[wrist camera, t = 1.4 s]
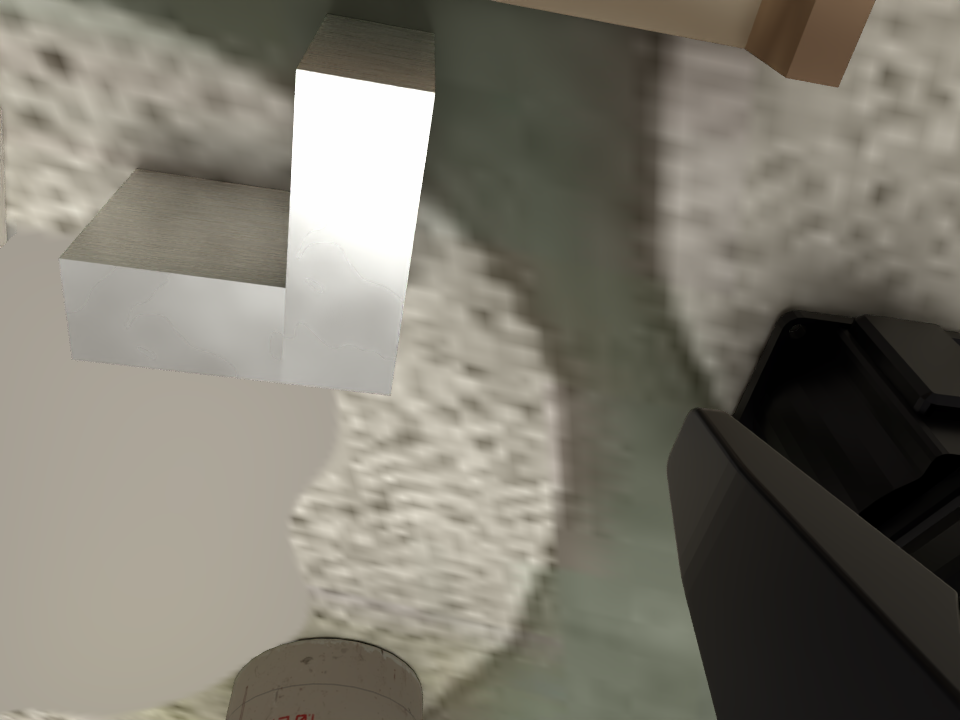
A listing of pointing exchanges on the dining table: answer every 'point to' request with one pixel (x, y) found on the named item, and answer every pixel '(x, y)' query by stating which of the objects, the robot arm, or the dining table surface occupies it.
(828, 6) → the arena
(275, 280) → the bracket
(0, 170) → the corner connector
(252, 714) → the thermos bottle
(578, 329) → the dining table surface
